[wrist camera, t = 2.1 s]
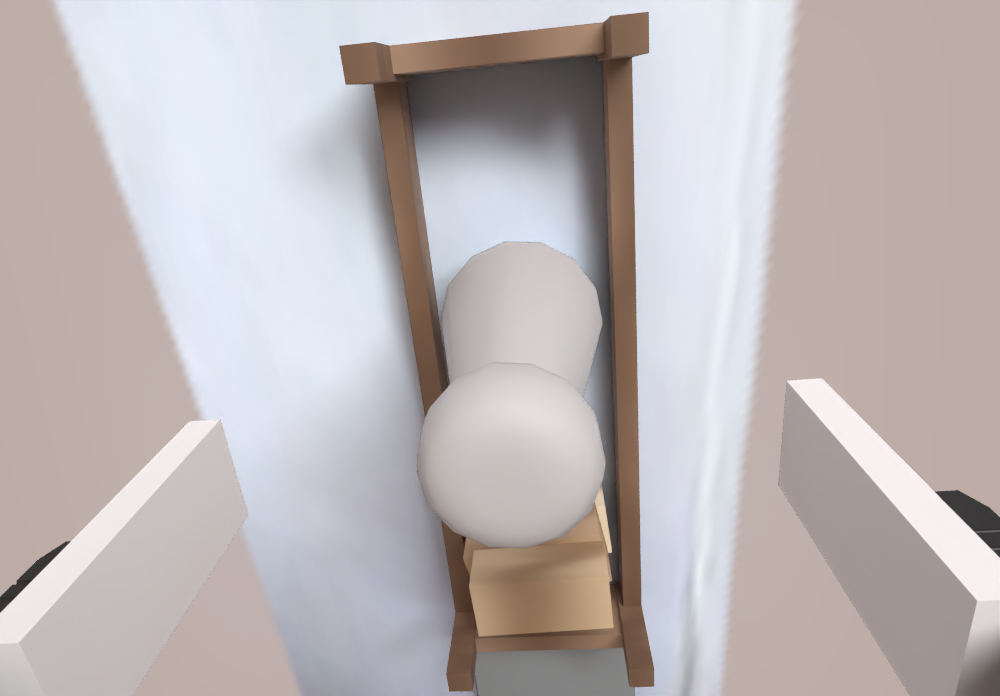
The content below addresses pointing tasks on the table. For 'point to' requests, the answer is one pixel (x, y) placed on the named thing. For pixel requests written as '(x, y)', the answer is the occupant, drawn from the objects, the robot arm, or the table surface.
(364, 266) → the table surface
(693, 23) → the table surface
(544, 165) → the table surface
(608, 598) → the offcut
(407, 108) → the open rectangular wooden frame
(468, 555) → the offcut
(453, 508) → the salt shaker
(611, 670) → the coaster
